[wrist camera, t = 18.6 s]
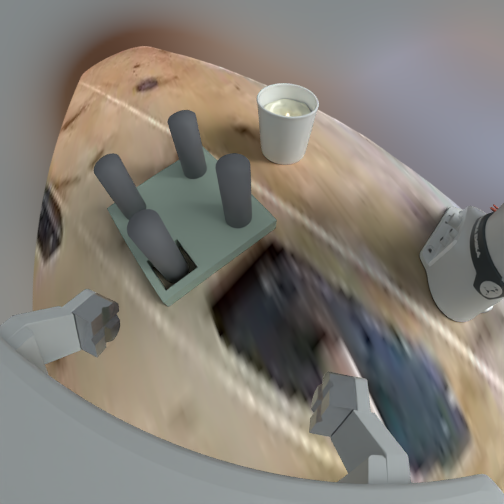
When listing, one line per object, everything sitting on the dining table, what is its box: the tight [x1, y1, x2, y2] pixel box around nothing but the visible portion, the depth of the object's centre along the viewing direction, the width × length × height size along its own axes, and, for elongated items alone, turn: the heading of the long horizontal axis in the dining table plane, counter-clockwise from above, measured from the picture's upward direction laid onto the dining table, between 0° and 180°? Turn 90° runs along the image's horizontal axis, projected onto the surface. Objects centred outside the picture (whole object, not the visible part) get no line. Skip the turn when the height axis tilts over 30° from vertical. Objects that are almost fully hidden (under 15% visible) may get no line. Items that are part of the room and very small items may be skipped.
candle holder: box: [257, 83, 319, 165], centre depth 46 cm, size 10×10×12 cm
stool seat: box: [94, 110, 277, 307], centre depth 39 cm, size 20×20×14 cm
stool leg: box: [127, 209, 189, 283], centre depth 36 cm, size 4×4×14 cm
